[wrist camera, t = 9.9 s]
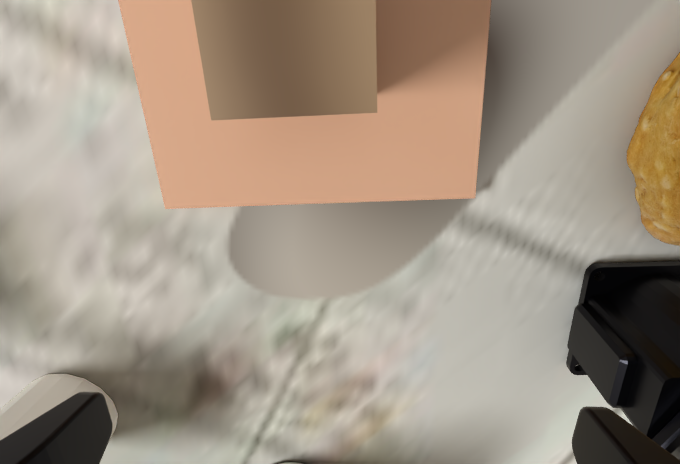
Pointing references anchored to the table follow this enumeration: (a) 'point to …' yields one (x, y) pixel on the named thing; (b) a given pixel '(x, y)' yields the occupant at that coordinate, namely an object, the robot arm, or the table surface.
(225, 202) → the tile mat
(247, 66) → the walnut cube
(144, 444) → the table surface
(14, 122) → the table surface
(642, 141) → the bagel
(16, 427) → the white cup
